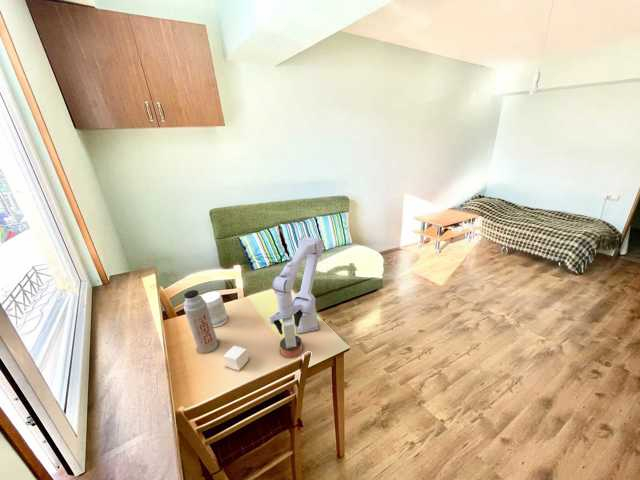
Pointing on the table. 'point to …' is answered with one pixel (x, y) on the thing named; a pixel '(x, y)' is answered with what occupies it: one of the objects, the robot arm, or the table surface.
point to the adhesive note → (236, 357)
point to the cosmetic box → (289, 332)
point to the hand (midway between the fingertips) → (288, 329)
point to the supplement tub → (215, 308)
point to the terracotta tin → (293, 350)
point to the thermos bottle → (200, 322)
